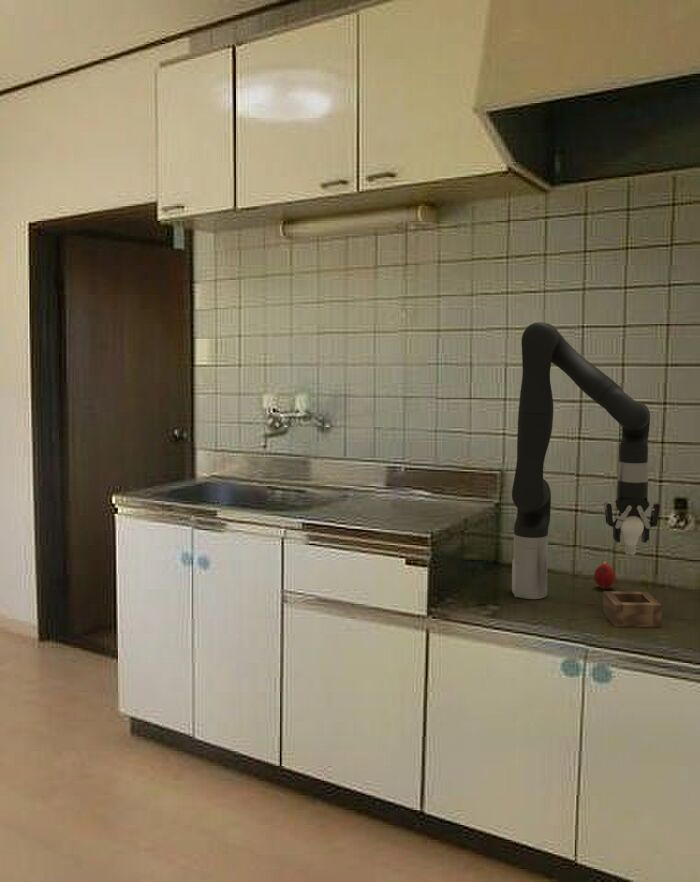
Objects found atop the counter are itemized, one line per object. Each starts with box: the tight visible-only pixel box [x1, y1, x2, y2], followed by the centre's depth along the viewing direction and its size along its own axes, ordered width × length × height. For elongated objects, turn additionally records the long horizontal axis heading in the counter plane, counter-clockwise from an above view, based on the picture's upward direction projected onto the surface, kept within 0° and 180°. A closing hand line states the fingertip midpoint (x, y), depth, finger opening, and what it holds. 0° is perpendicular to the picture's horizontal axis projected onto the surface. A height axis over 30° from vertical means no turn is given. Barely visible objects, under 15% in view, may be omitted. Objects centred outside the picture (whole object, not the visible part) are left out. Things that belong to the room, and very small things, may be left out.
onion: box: [593, 561, 616, 590], centre depth 224 cm, size 6×6×8 cm
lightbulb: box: [620, 516, 644, 557], centre depth 206 cm, size 6×6×11 cm
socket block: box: [602, 590, 663, 628], centre depth 198 cm, size 11×11×6 cm
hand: (630, 541), depth 207 cm, fingers closed on lightbulb, 6 cm apart
